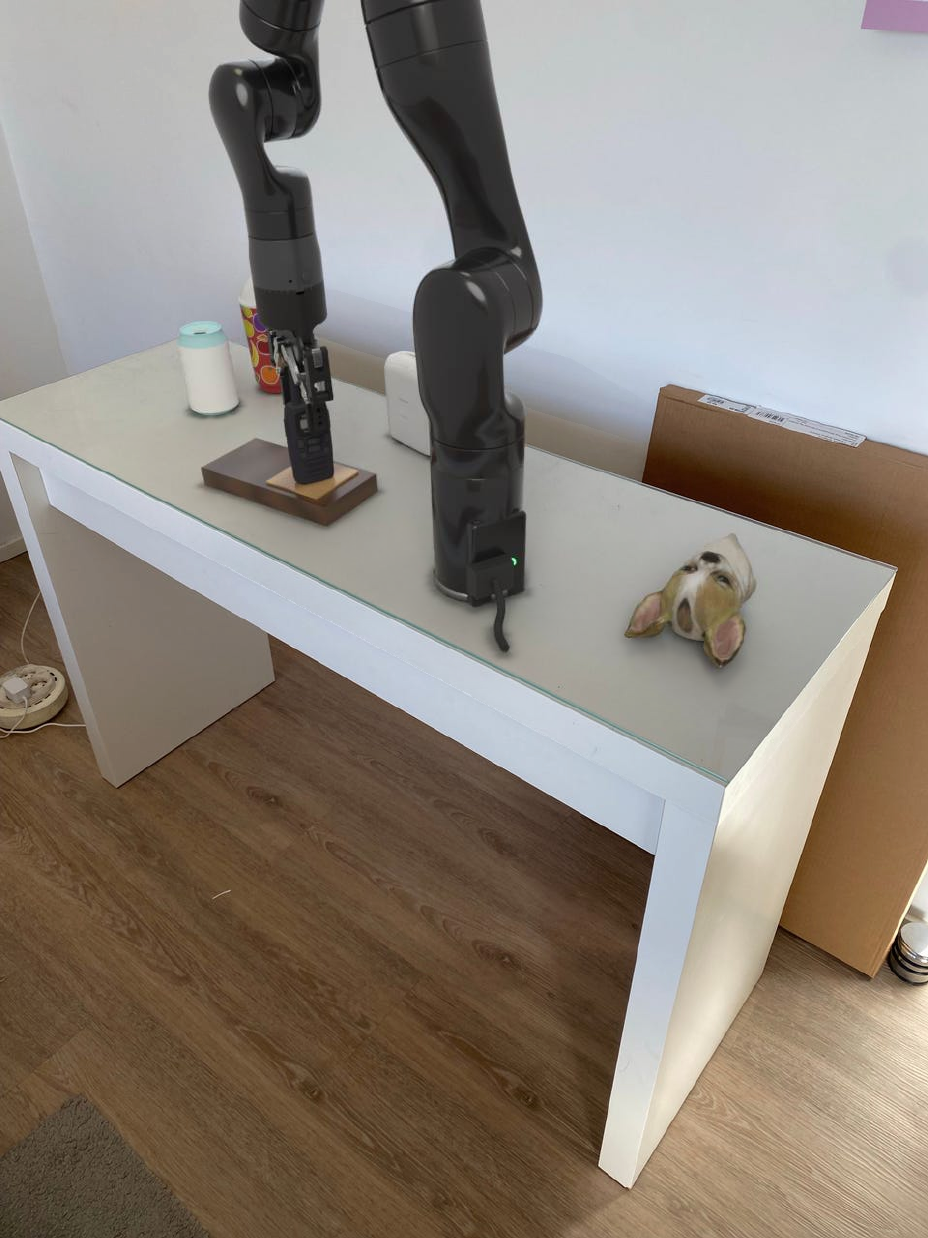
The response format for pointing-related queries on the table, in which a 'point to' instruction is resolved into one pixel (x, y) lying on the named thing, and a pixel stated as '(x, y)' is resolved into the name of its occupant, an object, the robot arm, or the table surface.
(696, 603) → the ceramic sculpture
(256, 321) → the smoothie
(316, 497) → the walnut board
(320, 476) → the two-way radio
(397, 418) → the photo printer
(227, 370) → the can
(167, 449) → the table surface
